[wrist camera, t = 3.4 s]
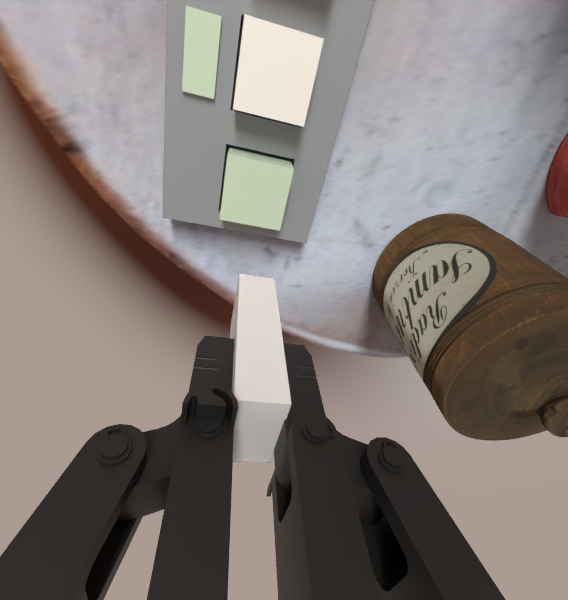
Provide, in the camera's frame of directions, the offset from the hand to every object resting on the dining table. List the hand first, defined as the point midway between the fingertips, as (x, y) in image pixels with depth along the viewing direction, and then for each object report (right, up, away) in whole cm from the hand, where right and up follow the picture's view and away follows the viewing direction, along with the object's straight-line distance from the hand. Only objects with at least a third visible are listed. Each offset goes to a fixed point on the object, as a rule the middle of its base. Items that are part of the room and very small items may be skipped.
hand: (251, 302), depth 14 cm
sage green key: (-1, +11, +15) cm, 19 cm away
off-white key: (+1, +18, +11) cm, 21 cm away
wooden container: (+20, +4, +26) cm, 32 cm away
